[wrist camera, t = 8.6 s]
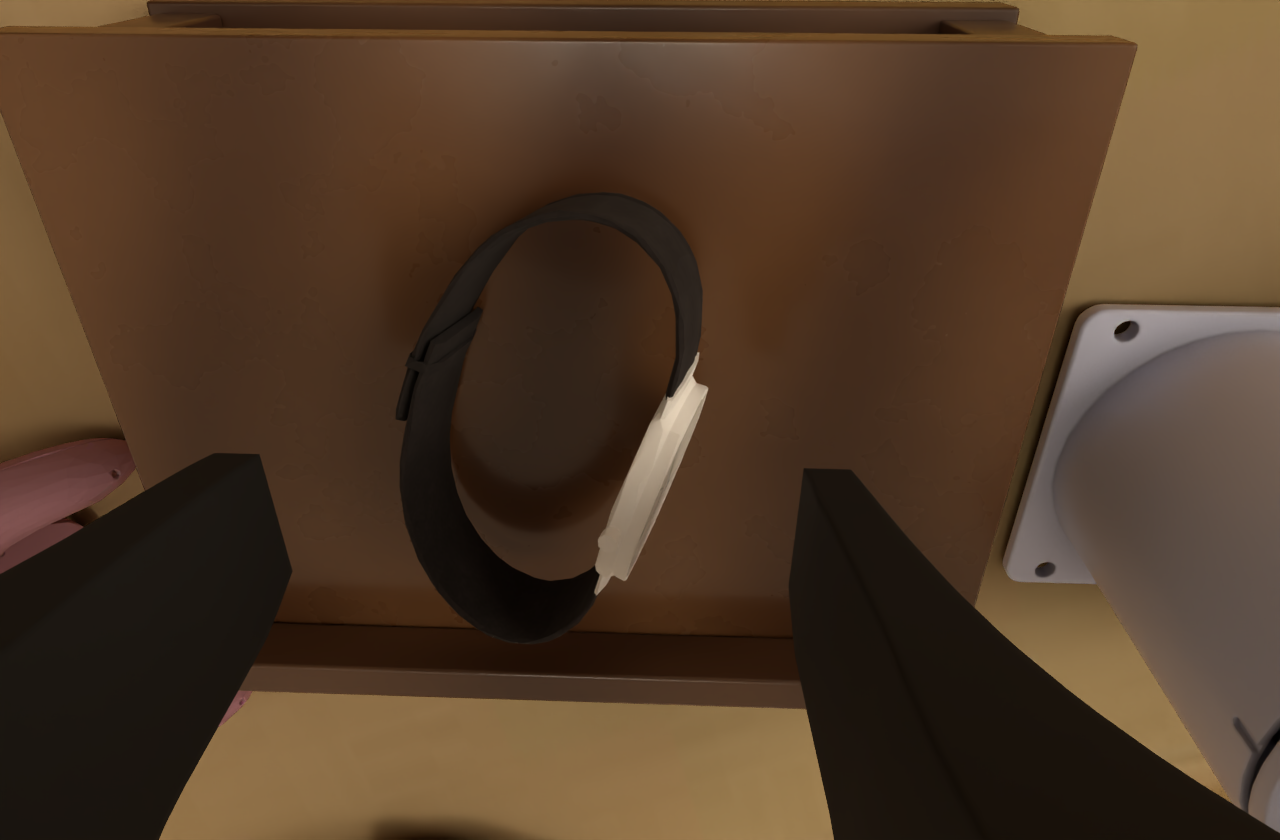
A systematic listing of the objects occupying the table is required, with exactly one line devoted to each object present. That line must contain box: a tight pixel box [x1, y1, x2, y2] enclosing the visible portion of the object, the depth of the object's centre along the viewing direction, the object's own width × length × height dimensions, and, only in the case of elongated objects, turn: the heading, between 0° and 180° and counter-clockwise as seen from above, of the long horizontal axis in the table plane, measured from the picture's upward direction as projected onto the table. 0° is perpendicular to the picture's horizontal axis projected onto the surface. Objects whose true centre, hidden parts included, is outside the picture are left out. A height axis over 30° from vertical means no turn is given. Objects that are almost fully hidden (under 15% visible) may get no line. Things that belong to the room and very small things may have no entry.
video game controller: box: [0, 438, 252, 727], centre depth 22 cm, size 10×5×7 cm, turn 7°
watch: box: [396, 192, 708, 644], centre depth 13 cm, size 8×5×4 cm, turn 163°
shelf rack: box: [0, 0, 1137, 709], centre depth 16 cm, size 16×12×7 cm
